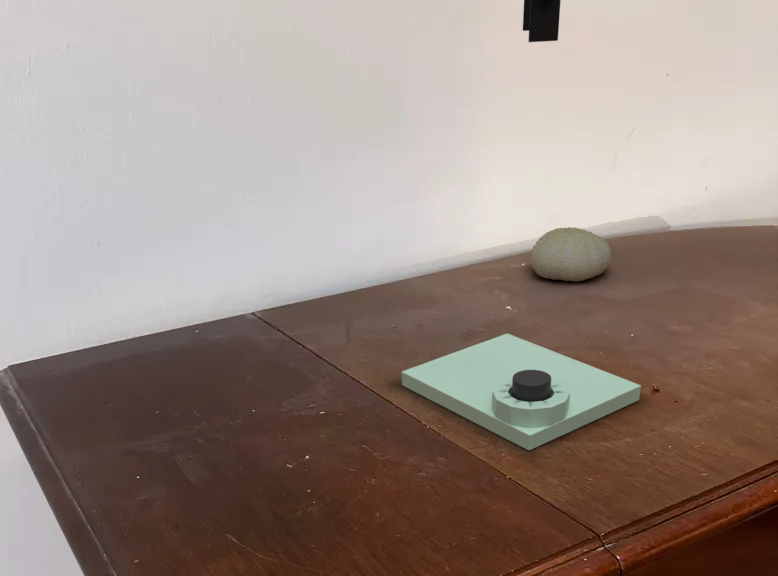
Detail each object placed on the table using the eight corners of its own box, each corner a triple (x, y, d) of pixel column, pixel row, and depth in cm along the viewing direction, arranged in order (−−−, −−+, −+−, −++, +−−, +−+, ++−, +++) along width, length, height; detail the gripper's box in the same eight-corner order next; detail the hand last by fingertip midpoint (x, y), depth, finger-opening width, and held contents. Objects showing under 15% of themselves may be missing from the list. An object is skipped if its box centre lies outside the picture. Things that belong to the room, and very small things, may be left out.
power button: (558, 395, 64) (559, 377, 63) (530, 407, 63) (532, 388, 62) (530, 383, 66) (531, 366, 65) (503, 394, 65) (504, 376, 64)
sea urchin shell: (588, 239, 100) (612, 201, 92) (601, 299, 99) (627, 266, 91) (516, 246, 99) (535, 209, 91) (529, 307, 98) (548, 274, 90)
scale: (639, 400, 69) (644, 367, 67) (528, 451, 63) (531, 416, 61) (506, 346, 79) (508, 316, 78) (401, 385, 73) (400, 354, 72)
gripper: (507, -224, 81) (499, 27, 93) (515, -281, 61) (504, 49, 73) (584, -231, 80) (566, 24, 92) (619, -291, 60) (589, 44, 72)
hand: (538, 35), depth 83 cm, fingers open, 13 cm apart
